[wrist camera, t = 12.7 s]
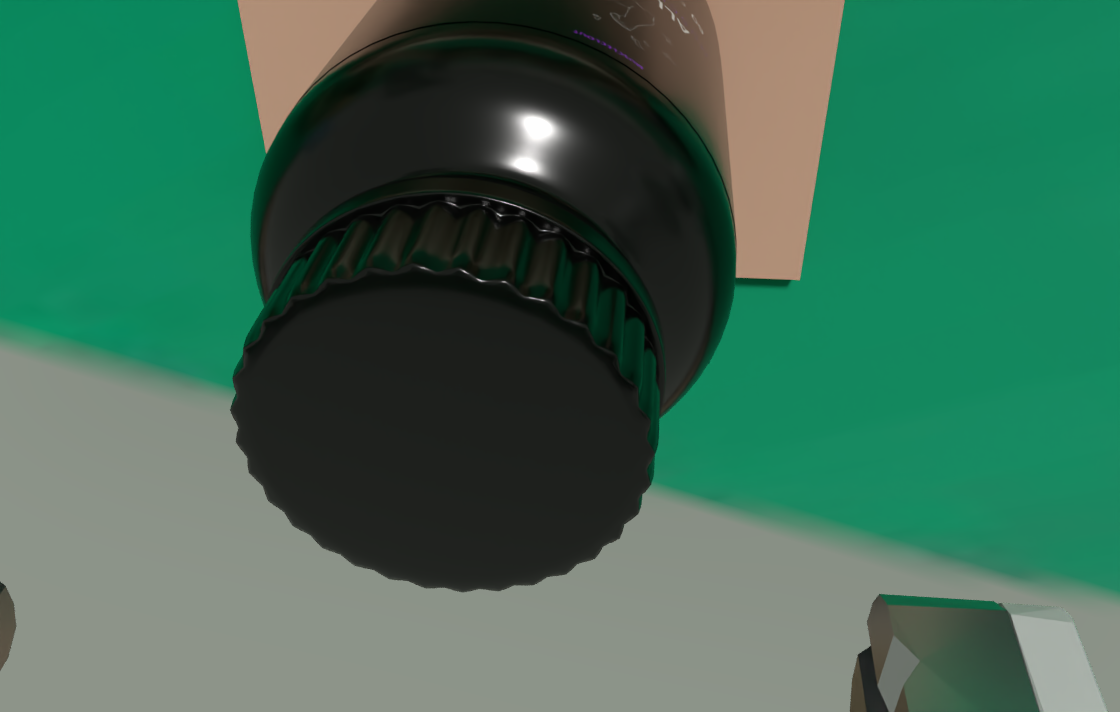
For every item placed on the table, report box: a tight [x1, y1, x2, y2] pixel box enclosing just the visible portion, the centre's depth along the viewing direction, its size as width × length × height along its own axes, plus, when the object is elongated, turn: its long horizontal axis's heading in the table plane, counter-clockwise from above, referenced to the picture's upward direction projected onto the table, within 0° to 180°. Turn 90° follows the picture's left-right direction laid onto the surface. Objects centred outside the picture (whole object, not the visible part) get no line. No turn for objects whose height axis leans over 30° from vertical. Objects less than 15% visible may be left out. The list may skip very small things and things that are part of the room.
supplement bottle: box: [230, 0, 737, 592], centre depth 16 cm, size 7×7×12 cm
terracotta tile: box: [238, 0, 845, 280], centre depth 21 cm, size 12×10×1 cm
